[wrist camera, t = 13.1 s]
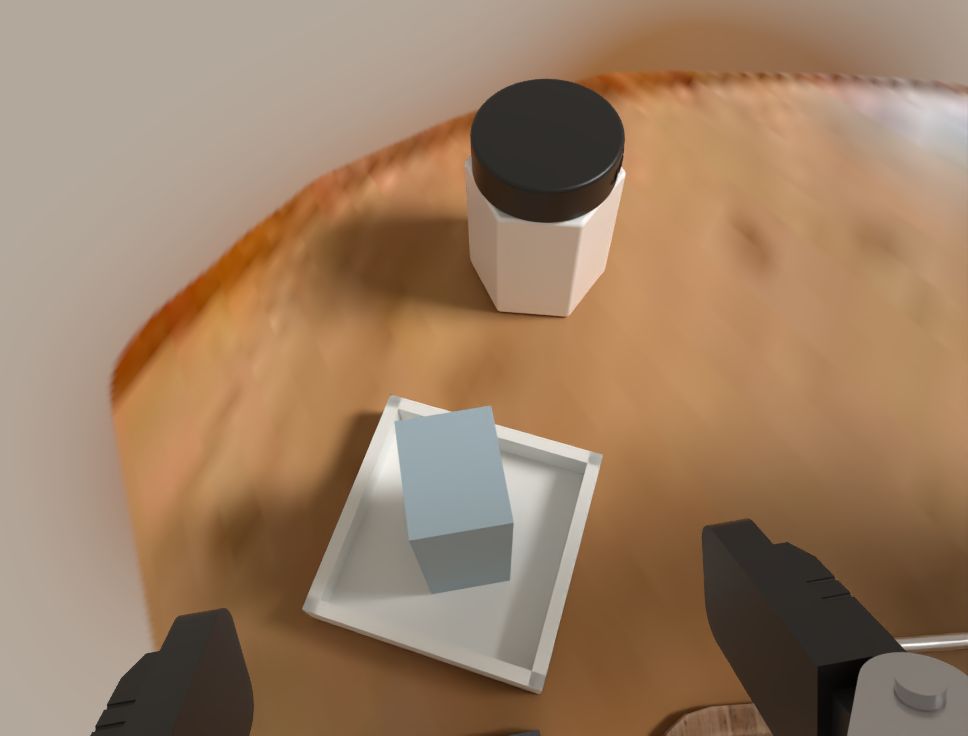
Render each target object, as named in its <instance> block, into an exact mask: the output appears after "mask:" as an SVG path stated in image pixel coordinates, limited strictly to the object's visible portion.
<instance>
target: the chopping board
mask: <svg viewBox="0 0 968 736" xmlns="http://www.w3.org/2000/svg"><path fill="white" fill-rule="evenodd" d="M894 639H895V640H896V641H897V642H898V643H899V644H900V645H901V646H902V647H903V648H904V649H905V650H906V651H907V652H908V653H920V652H933V651H945V650H958V649H968V632H958V633H945V634H932V635H920V636H907V637H894ZM663 736H773V734H772V733H771V731H770V729H769V728H768V726H767V724H766V723H765V721H764V719H763V718H762V716H761V715H760V713H759V711H758V710H757V708H756V706H755V705H754V703H746V704H733V705H720V706H710V707H706V708H703V709H700V710H697V711H693V712H690V713H687V714H684V715H682V716H681V717H680V718H679V719H678V720H677V721H676V722H675V723H674V724H673V725H672V726H670V727H669V728H668V729H667V730H666V731H665V732H664V734H663Z"/></svg>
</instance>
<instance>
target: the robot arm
mask: <svg viewBox="0 0 968 736" xmlns="http://www.w3.org/2000/svg"><path fill="white" fill-rule="evenodd" d="M702 550H703V569H704V588H705V605H706V612H707V617H708V621H709V624H710V627H711V630H712V633H713V636H714V638H715V640H716V642H717V644H718V645H719V647H720V649H721V650H722V652H723V654H724V655H725V657H726V658H727V660H728V662H729V663H730V665H731V667H732V668H733V670H734V672H735V673H736V675H737V677H738V678H739V680H740V682H741V683H742V685H743V687H744V688H745V690H746V691H747V693H748V695H749V696H750V698H751V700H752V701H753V703H754V705H755V706H756V708H757V710H758V711H759V713H760V715H761V716H762V718H763V719H764V721H765V723H766V724H767V726H768V728H769V729H770V731H771V733H772V734H773V736H968V676H967V675H966V674H964V673H963V672H962V671H960V670H958V669H957V668H955V667H954V666H952V665H950V664H948V663H946V662H943V661H941V660H938V659H935V658H933V657H929V656H925V655H921V654H915V653H908V652H907V651H906V650H905V649H904V648H903V647H902V646H901V645H900V644H899V643H898V642H897V641H896V640H895V639H894V638H893V637H892V636H891V635H890V634H889V633H888V632H887V631H886V630H885V629H884V627H883V626H882V625H881V624H880V623H879V622H878V621H877V620H876V619H875V618H874V617H873V616H872V615H871V614H870V613H869V612H868V611H867V610H866V609H865V608H864V607H863V606H862V605H861V604H860V603H859V602H858V601H857V599H856V598H855V597H851V595H850V592H849V591H848V590H847V589H846V588H845V587H844V586H843V585H842V584H841V583H840V582H839V581H838V580H837V581H836V580H835V578H834V576H833V575H832V574H831V573H830V571H829V570H828V569H827V568H826V567H825V566H824V565H823V564H822V563H821V562H820V561H819V560H818V559H817V558H816V557H815V556H813V555H811V554H809V553H807V552H805V551H803V550H801V549H799V548H797V547H795V546H793V545H792V544H790V543H788V542H786V543H780V544H775V545H773V544H772V543H771V541H770V540H769V539H768V538H767V537H766V536H765V535H764V534H763V532H762V531H761V530H760V529H759V528H758V527H757V526H756V525H755V523H754V522H753V521H752V520H750V519H742V520H736V521H730V522H725V523H719V524H713V525H707V526H705V527H704V528H703V532H702ZM253 710H254V703H253V691H252V685H251V681H250V678H249V674H248V671H247V667H246V664H245V660H244V657H243V653H242V650H241V646H240V643H239V639H238V636H237V633H236V629H235V626H234V622H233V619H232V616H231V614H230V612H229V611H228V610H227V609H226V608H222V609H216V610H210V611H204V612H199V613H193V614H187V615H181V616H178V617H177V618H176V619H175V621H174V623H173V625H172V627H171V629H170V631H169V633H168V635H167V637H166V639H165V641H164V643H163V645H162V648H161V650H160V651H158V652H152V653H147V654H145V655H144V656H143V657H142V658H141V659H140V660H139V661H138V662H137V663H136V664H135V665H134V666H133V667H132V668H131V669H130V670H129V671H128V672H127V673H126V674H125V675H124V676H123V677H122V678H121V679H120V681H119V683H118V685H117V687H116V689H115V691H114V692H113V694H112V696H111V698H110V700H109V702H108V704H107V710H104V711H103V713H102V715H101V717H100V719H99V721H98V722H97V724H96V726H95V727H96V731H95V732H92V734H91V735H90V736H249V734H250V730H251V726H252V721H253Z"/></svg>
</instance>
